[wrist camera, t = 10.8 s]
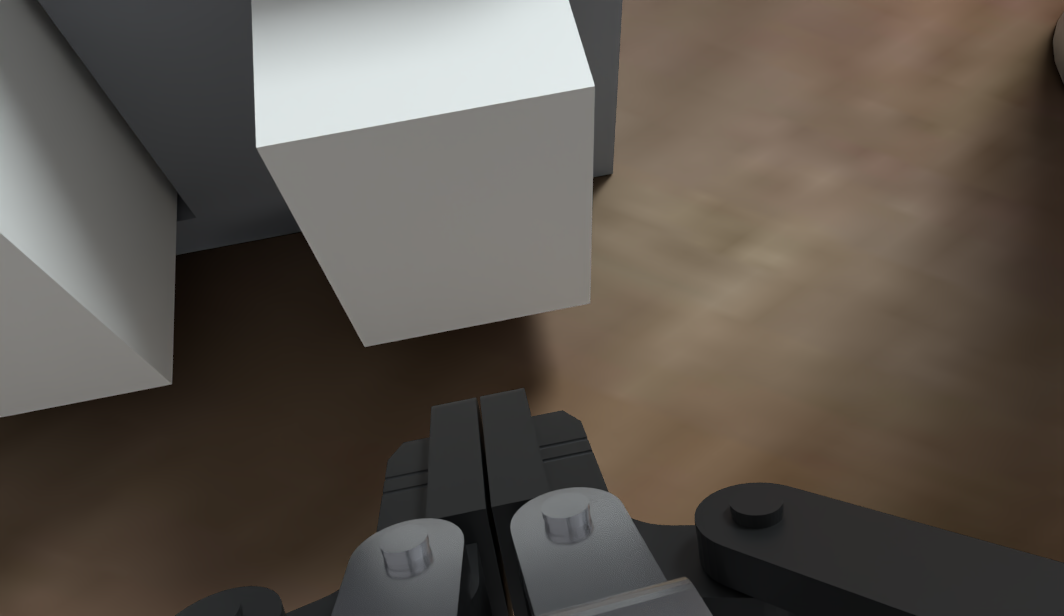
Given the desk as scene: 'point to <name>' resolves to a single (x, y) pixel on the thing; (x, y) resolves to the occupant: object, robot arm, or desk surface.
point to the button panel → (239, 101)
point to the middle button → (76, 231)
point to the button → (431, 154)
